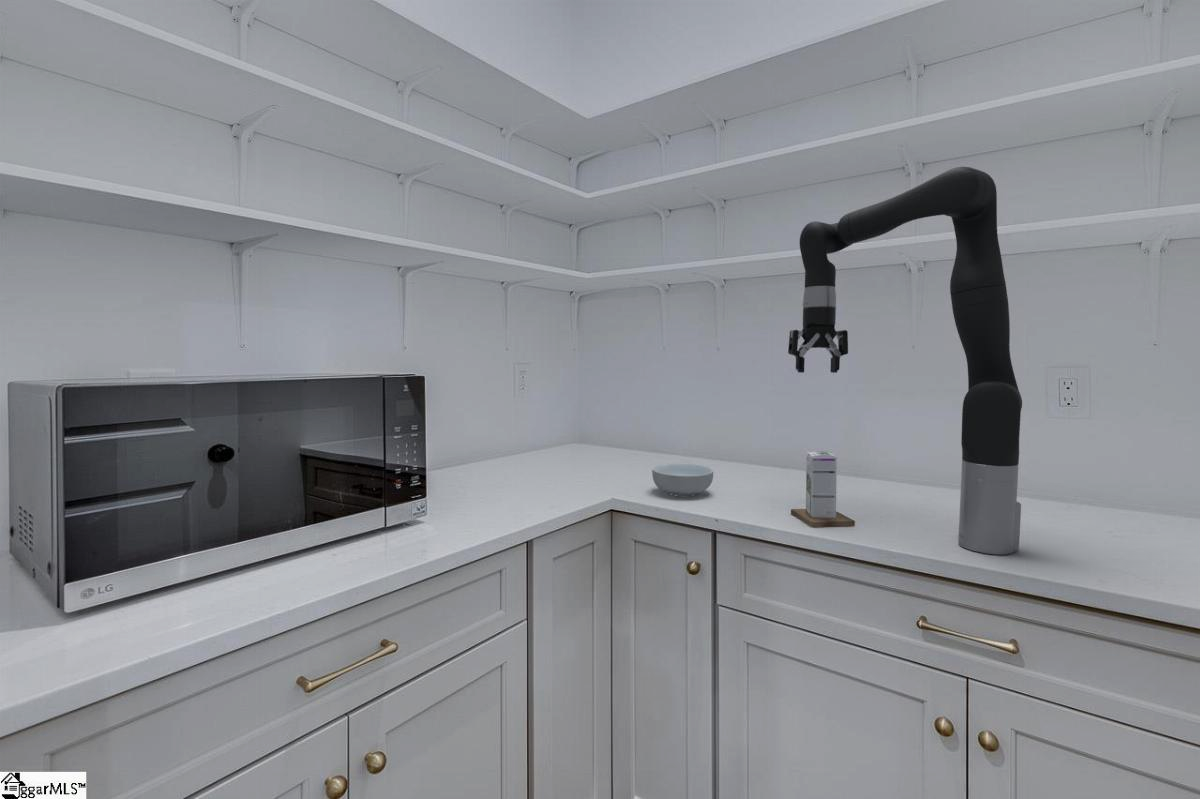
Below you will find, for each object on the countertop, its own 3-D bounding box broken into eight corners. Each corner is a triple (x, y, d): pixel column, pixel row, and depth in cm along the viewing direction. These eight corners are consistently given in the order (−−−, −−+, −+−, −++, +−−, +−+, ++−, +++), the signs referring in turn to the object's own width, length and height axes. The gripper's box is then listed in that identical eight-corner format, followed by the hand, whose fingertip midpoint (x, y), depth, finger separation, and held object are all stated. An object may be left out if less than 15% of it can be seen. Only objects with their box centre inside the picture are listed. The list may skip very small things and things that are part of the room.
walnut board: (830, 512, 140) (830, 508, 139) (854, 526, 129) (854, 520, 129) (790, 514, 139) (790, 509, 138) (812, 527, 128) (812, 522, 128)
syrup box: (836, 518, 130) (838, 455, 129) (809, 517, 131) (811, 455, 130) (830, 512, 136) (832, 451, 135) (804, 511, 137) (805, 450, 136)
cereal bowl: (639, 493, 161) (639, 468, 160) (678, 484, 172) (678, 460, 171) (687, 504, 148) (687, 477, 147) (725, 494, 159) (725, 468, 159)
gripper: (798, 304, 136) (796, 373, 137) (855, 305, 137) (853, 372, 138) (784, 307, 143) (783, 372, 144) (839, 307, 145) (837, 372, 146)
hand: (817, 372), depth 141 cm, fingers open, 8 cm apart
